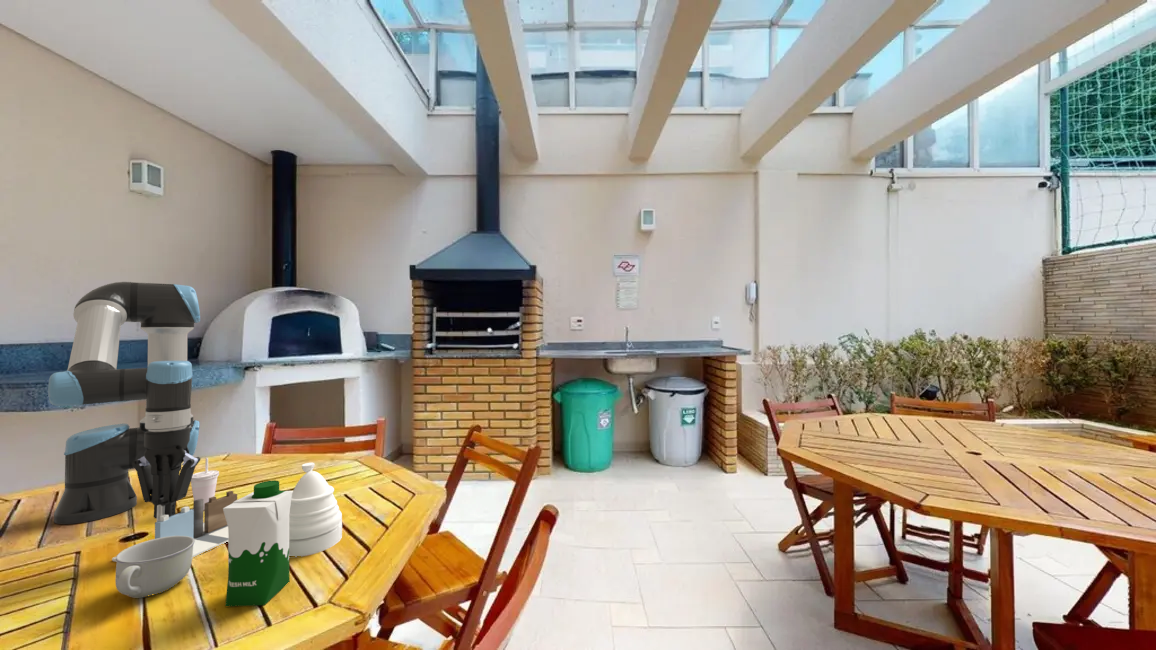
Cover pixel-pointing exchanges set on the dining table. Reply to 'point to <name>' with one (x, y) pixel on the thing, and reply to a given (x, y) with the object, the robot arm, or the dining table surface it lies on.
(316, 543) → the honey pot
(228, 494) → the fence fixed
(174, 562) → the teacup
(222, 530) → the card
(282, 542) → the milk carton
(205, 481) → the smoothie
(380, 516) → the dining table surface
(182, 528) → the fence panel
